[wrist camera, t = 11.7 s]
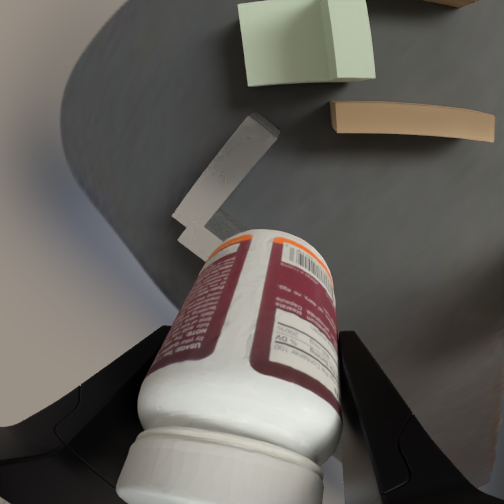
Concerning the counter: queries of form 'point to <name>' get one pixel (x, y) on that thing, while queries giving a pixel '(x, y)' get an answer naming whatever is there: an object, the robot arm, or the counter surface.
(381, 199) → the counter surface
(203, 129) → the counter surface
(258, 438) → the pill bottle
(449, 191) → the counter surface
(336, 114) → the channel
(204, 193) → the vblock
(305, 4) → the block
